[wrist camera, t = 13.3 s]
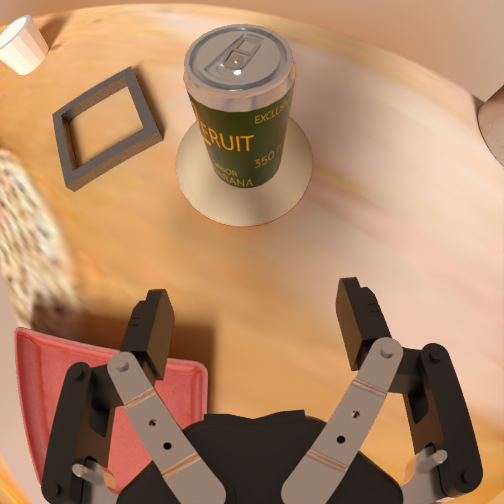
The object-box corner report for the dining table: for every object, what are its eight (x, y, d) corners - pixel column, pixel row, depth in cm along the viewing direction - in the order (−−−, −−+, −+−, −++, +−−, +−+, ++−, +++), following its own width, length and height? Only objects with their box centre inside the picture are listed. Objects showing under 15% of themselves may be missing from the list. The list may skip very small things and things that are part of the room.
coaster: (272, 90, 25) (272, 86, 24) (335, 190, 24) (337, 188, 23) (159, 139, 25) (157, 136, 24) (210, 251, 23) (209, 250, 23)
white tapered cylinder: (10, 86, 27) (-16, 61, 20) (21, 54, 28) (-1, 29, 21) (46, 65, 27) (21, 35, 20) (56, 35, 28) (36, 6, 21)
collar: (135, 74, 26) (131, 66, 24) (163, 140, 25) (158, 131, 23) (59, 120, 25) (52, 114, 24) (74, 191, 24) (65, 186, 23)
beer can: (232, 122, 24) (216, 13, 12) (291, 147, 24) (314, 41, 12) (200, 174, 23) (156, 79, 12) (261, 203, 23) (266, 117, 11)
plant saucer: (53, 475, 21) (38, 488, 17) (33, 322, 23) (11, 324, 20) (212, 519, 20) (207, 540, 17) (215, 352, 23) (208, 361, 19)
